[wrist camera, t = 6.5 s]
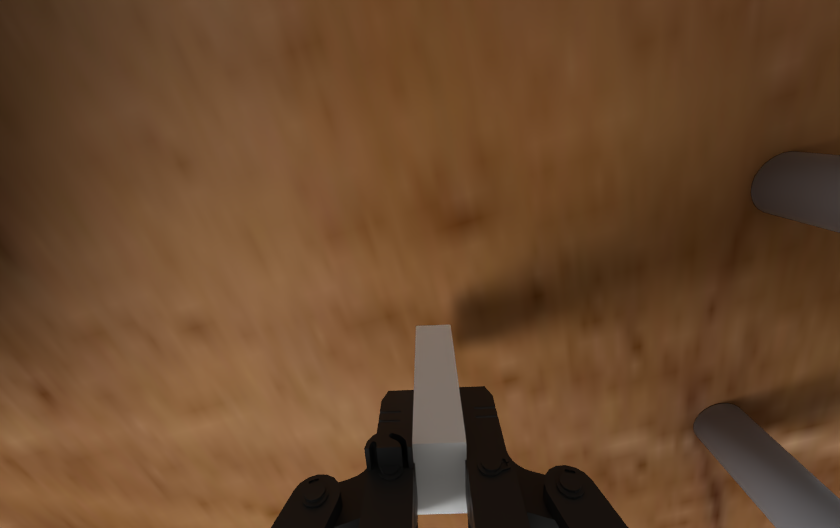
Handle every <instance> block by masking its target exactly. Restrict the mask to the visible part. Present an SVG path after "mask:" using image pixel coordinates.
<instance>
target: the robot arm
mask: <svg viewBox="0 0 840 528" xmlns="http://www.w3.org/2000/svg"><path fill="white" fill-rule="evenodd" d="M364 449H365V457H366V464H367V469H366V470H365V471H364V472H362V473H361V474H359V475H358V476H356V477H353V478H351V479H348V480H345V481H342V482H339V483H338V482H337V481H336V479H335V478H334V477H331V476H329V475H315V476H312V477H309V478H307V479H306V480H304V481H303V482H301V483H300V484H299V485H298V486H297V487H296V489H295V490H294V491H293V493H292V494H291V496H290V498H289V499H288V501H287V502H286V504H285V506H284V507H283V509H282V511H281V512H280V514H279V516H278V517H277V519H276V520H275V522H274V524H273V525H272V527H271V528H418V522H417V519H418V515H419V514H452V513H468V528H628V527H627V526H626V524H625V523H624V522H623V520H622V519H621V518H620V516H619V515H618V514H617V512H616V511H615V510H614V508H613V507H612V506H611V504H610V503H609V502H608V500H607V499H606V498H605V496H604V495H603V494H602V493H601V491H600V490H599V489H598V487H597V486H596V485H595V483H594V482H593V481H592V480H591V479H590V478H589V477H588V476H587V475H586V474H585V473H584V472H582V471H580V470H579V469H577V468H574V467H570V466H566V465H563V466H555V467H553V468H551V469H549V470H548V472H547V473H546V474H545V475H544V474H540V473H536V472H532V471H529V470H526V469H524V468H522V467H520V466H518V465H517V464H516V463H515V462H514V461H512V459H511V458H510V457H509V455H508V453H507V451H506V447H505V443H504V439H503V435H502V431H501V427H500V423H499V419H498V416H497V411H496V409H495V404H494V400H493V396H492V394H491V393H490V392H489V391H488V390H487V389H486V388H485V386H482V387H459V384H458V376H457V369H456V361H455V354H454V347H453V339H452V332H451V325H430V326H416V343H415V373H414V390H402V391H388V393H387V394H386V395H385V397H384V398H383V400H382V402H381V409H380V415H379V423H378V429H377V434H375V435H373V436H372V437H371V438H370V439H369V440H368V441H367V443H366V446H365V448H364Z"/></svg>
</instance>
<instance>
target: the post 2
mask: <svg viewBox="0 0 840 528" xmlns="http://www.w3.org/2000/svg"><path fill="white" fill-rule="evenodd" d="M694 432H695V434H696V436H697V437H698V438H699V439H700V440H701V442H702V443H703V444H704V445H705V446H706V447H707V448H708V450H709V451H710V452H711V453H712V454H713V455H714V457H715V458H716V459H717V460H718V461H719V462H720V464H721V465H722V466H723V467H724V468H725V469H726V470H727V472H728V473H729V474H730V475H731V476H732V477H733V479H734V480H735V481H736V482H737V483H738V484H739V485H740V487H741V488H742V489H743V490H744V491H745V492H746V494H747V495H748V496H749V497H750V498H751V499H752V500H753V502H754V503H755V504H756V505H757V506H758V507H759V509H760V510H761V511H762V512H763V513H764V514H765V515H766V517H767V518H768V519H769V520H770V521H771V522H772V524H773V525H774V526H775V527H776V528H840V499H839V498H838V497H837V496H836V495H835V494H833V493H832V492H831V491H830V490H829V489H828V488H827V487H826V486H825V485H824V484H822V483H821V482H820V481H819V480H818V479H817V478H816V477H815V476H814V475H813V474H811V473H810V472H809V471H808V470H807V469H806V468H805V467H804V466H803V465H802V464H801V463H799V462H798V461H797V460H796V459H795V458H794V457H793V456H792V455H791V454H790V453H788V452H787V451H786V450H785V449H784V448H783V447H782V446H781V445H780V444H779V443H777V442H776V441H775V440H774V439H773V438H772V437H771V436H770V435H769V434H768V433H766V432H765V431H764V430H763V429H762V428H761V427H760V426H759V425H758V424H757V423H755V422H754V421H753V420H752V419H751V418H750V417H749V416H748V415H747V414H746V413H744V412H743V411H742V410H741V409H740V408H739V407H737V406H736V405H733V404H728V403H722V404H716V405H713V406H711V407H709V408H707V409H705V410H704V411H703V412H701V413H700V414H699V415H698V417H697V418H696V420H695V422H694Z"/></svg>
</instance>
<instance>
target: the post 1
mask: <svg viewBox="0 0 840 528" xmlns="http://www.w3.org/2000/svg"><path fill="white" fill-rule="evenodd" d="M751 197H752V200H753V203H754V204H755V206H756V207H757V208H758V209H759V210H761V211H763V212H765V213H769V214H772V215H776V216H780V217H783V218H787V219H791V220H795V221H798V222H802V223H806V224H809V225H813V226H817V227H820V228H824V229H828V230H831V231H835V232H839V233H840V155H830V154H819V153H807V152H786V153H782V154H779V155H777V156H775V157H774V158H772V159H770V160H769V161H768V162H766V163H765V164H764V165H763V166H762V167H761V169H760V170H759V171H758V173H757V174H756V176H755V178H754V180H753V183H752V187H751Z"/></svg>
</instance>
